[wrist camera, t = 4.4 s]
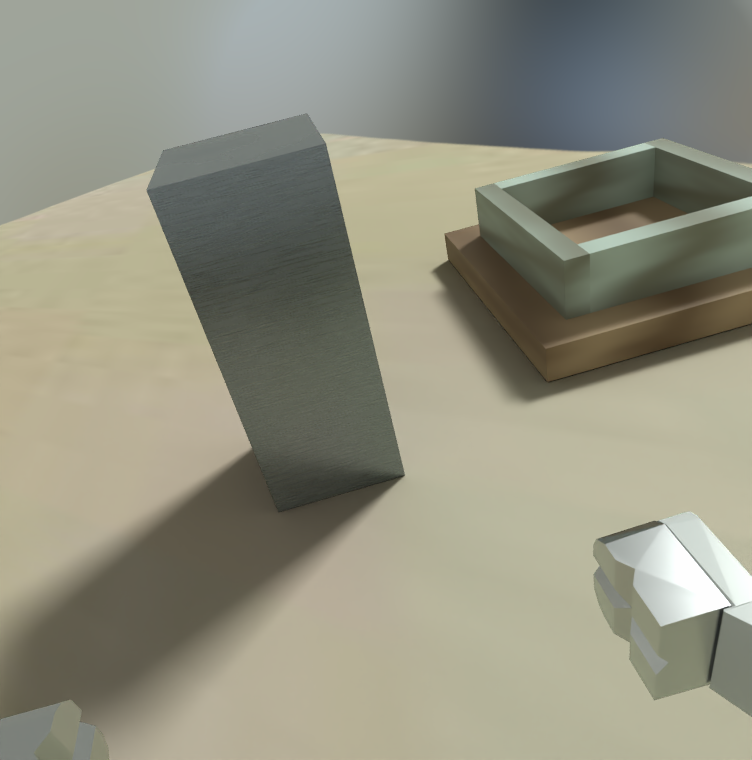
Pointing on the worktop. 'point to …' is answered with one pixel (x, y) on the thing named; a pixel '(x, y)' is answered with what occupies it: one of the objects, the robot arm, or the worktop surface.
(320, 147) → the graphite post
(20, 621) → the worktop surface
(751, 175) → the stand
